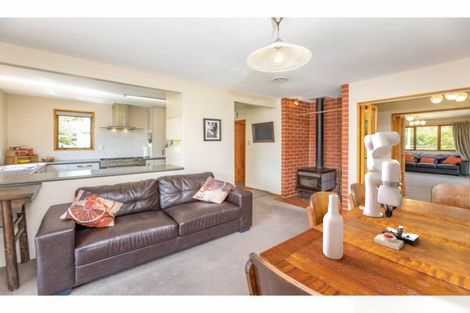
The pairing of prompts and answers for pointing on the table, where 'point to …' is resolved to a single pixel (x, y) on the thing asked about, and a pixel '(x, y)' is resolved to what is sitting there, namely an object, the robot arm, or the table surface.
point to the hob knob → (400, 230)
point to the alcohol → (333, 230)
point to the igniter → (388, 241)
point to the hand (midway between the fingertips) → (388, 216)
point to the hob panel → (403, 236)
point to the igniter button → (388, 235)
